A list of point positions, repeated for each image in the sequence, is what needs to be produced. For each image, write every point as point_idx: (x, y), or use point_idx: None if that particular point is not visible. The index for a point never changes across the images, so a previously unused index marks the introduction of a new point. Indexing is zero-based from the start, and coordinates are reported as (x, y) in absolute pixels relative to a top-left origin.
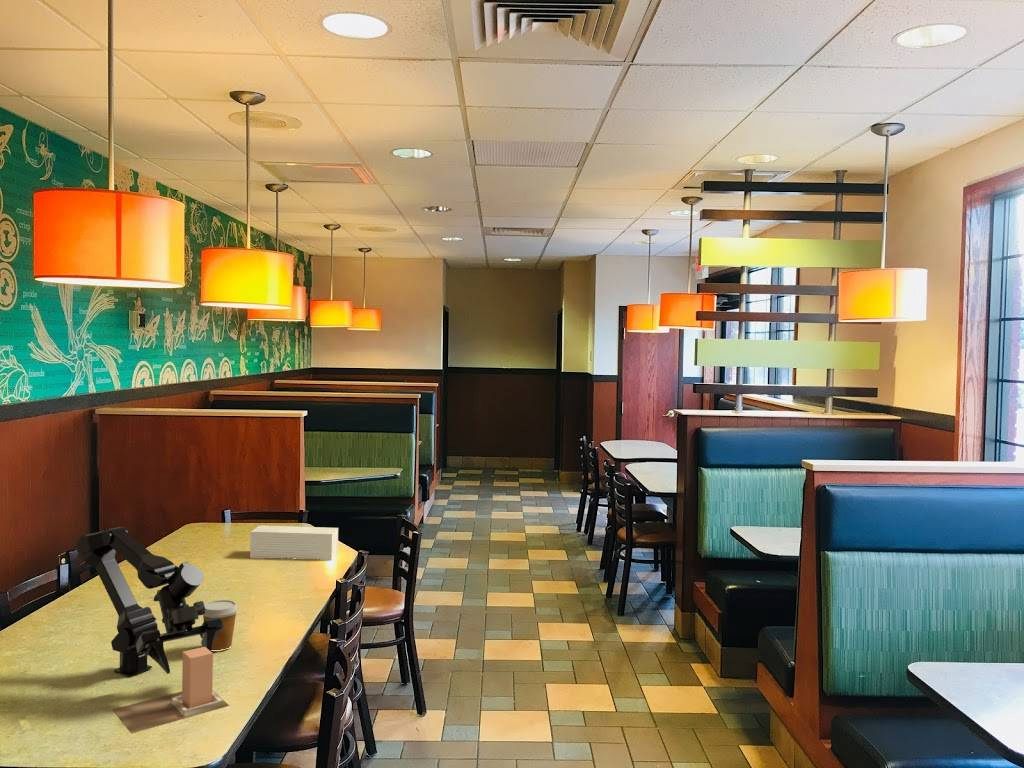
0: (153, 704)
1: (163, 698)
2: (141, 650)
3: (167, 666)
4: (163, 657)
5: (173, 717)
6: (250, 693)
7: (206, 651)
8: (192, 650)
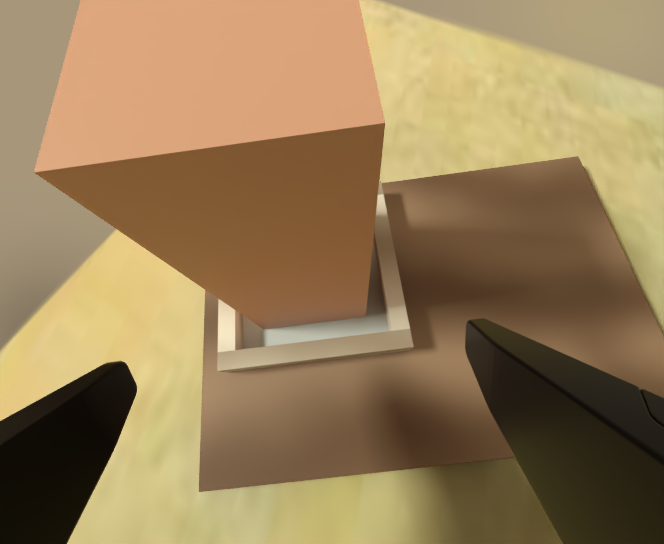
0: None
1: (439, 428)
2: None
3: (507, 334)
4: (622, 392)
5: (419, 206)
6: (85, 316)
7: (114, 22)
8: (243, 107)
